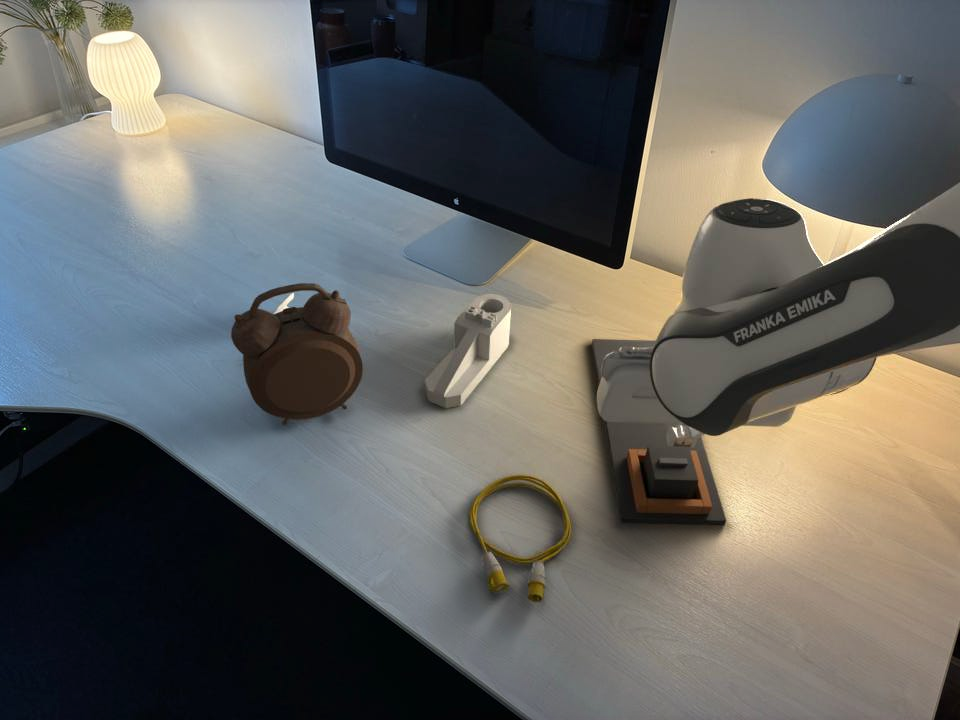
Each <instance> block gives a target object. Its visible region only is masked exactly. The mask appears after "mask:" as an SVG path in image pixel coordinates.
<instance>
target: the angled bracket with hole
mask: <svg viewBox="0 0 960 720" xmlns="http://www.w3.org/2000/svg"><path fill="white" fill-rule="evenodd" d="M511 313H512V304H511V302H510V300H509V299H507V298H506V297H504V296H503V295H500V294H495V293H486V294H482V295H479V296H477V297H475V298H474V300H473V301H471V302H470V304H468V306H467V307H466V308H464V310H463V311H462V312H461V313H460V314H459V315H458V317H457V318H456V320H455V321H454V323H453V325H454V326H453V330H454V333H453V334H454V335H453V337H454V339H453V340H454V345H453V346H454V347H453V348H452V349H451V350H450V351H449V352H448V353H447V355H446V356H445V357H444V358H443V359H442V360H441V361H440V362H439V364H438V365H437V366H436V367H435V368H434V369H433V371H432V372H431V373H430V374H429V375H428V376H427V377H426V378H425V379H424V388H425V389H424V391H425V395H426V397H427V400H428V402H430V403H432V404H434V405H437V406H440V407H442V408H444V409H450V408H457V407H460V406H461V407H462V405H463V404H464V403H465V401H466V400H467V399H468V397H469V396H470V395H471V394H472V393H473V391H474V390H475V389H476V388H477V386H478V385H479V384H480V382H481V381H482V380H483V379H484V378H485V376H486V375H487V374H488V372H489V371H490V370H491V369H492V367H493V366H494V365H495V363H496V362H497V361H498V360H499V359H500V358H501V356H502V355H503V354H504V352H505V351H506V350H507V349H508V347H509V344H510V332H511V331H510V329H511Z"/></svg>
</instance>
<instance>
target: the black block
mask: <svg viewBox="0 0 960 720" xmlns="http://www.w3.org/2000/svg"><path fill="white" fill-rule="evenodd" d="M642 470H643V475H644V480H645V485H646V490H647V495H648V498H651V499H690V500H692V497H693V494H694V492H695V489H696V486H697V484H698V481H699V480H698V476H697V473H696V469H695V465H694V462H693V458H692V455H691V451H690V447H660V446H648V448H647V451H646V455H645V458H644V462H643V465H642Z"/></svg>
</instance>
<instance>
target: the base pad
mask: <svg viewBox="0 0 960 720" xmlns="http://www.w3.org/2000/svg"><path fill="white" fill-rule="evenodd" d="M591 341H592V342H591V348H592V355H593V360H594V366H595V373H596V379H597V385H598V386H599V384H600V381H601V379H602V375H601V369H602V363H603V360H604V357H605V356H606V355H607V354H610V353H612V352H614V351H619V350H620V348H622V347H633V348H649V347H652V348H653V347H654V344H655V342H656V340H647V339H646V340H644V339H643V340H642V339H608V338H607V339H606V338H604V339H603V338H592V340H591ZM603 422H604V427H605V433H606V440H607V446H608V452H609V458H610V464H611V465H610V466H611V470H612V476H613V477H612V478H613V483H614V489H615V494H616V500H617V507H618V514H619V519H620V523H621V524H642V525H645V524H646V525H647V524H648V525H678V526H679V525H681V526H715V527H716V526H718V527H719V526H721V527H724V526H726V522H727V517H726V514H725V512H724V507H723V504H722V501H721V497H720V494H719V492H718V488H717V486H716V485H717V484H716V481H715V479H714V475H713V472H712V468H711V465H710V462H709V461H710V460H709V458H708V454H707V452H706V448H705V445H704V442H703V438H702V436H701V437H700V438H698V439H697V442H696V445H695V447H690V451H691V455H692V458H693V462H694V465H695V469H696V473H697V476H698V480H699V481H698V484H697V486H696V489H695V492H694V494H693V497H692V500H690V499H651V498H648V495H647V490H646V485H645V480H644V475H643V470H642V465H643V462H644V458H645V455H646V451H647V448H648V446H660V447H678V446H668V443H667V439H666V433H667V430H666V428H665V424H658V423H622V422H606V421H605V420H604V419H603ZM679 426H687V425H686V424H679Z"/></svg>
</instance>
